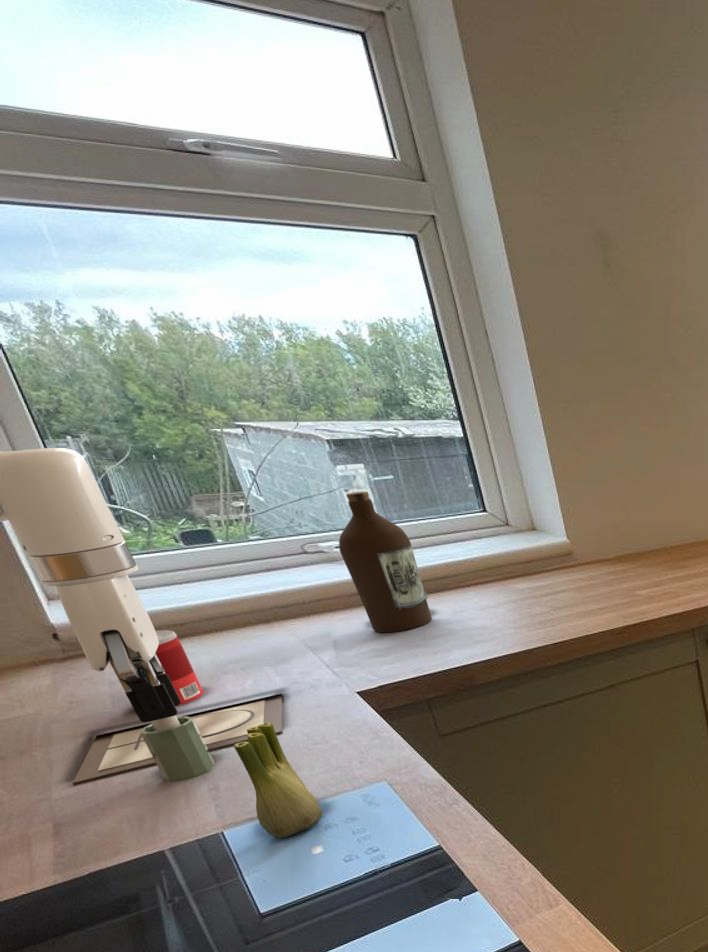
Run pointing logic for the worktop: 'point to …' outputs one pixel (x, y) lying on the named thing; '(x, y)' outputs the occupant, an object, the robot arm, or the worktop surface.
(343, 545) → the brown stoneware bottle
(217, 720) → the framed abstract picture
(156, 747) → the pen cup
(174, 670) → the canned food
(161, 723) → the cylinder
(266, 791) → the fennel bulb
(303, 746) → the worktop surface
